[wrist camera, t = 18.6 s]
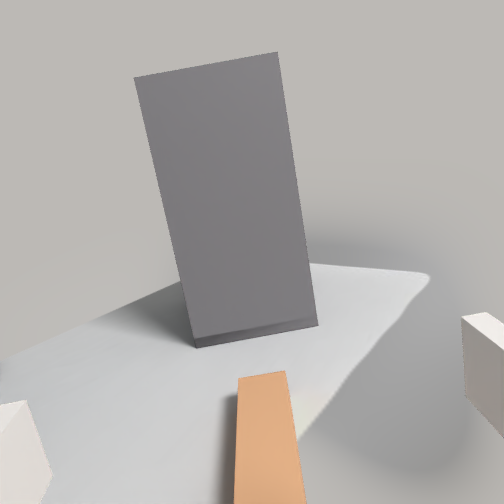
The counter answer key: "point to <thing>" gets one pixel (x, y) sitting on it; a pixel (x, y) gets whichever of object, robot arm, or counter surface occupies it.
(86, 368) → the counter surface
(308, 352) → the counter surface
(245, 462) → the slat
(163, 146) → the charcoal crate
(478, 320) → the robot arm
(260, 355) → the counter surface
